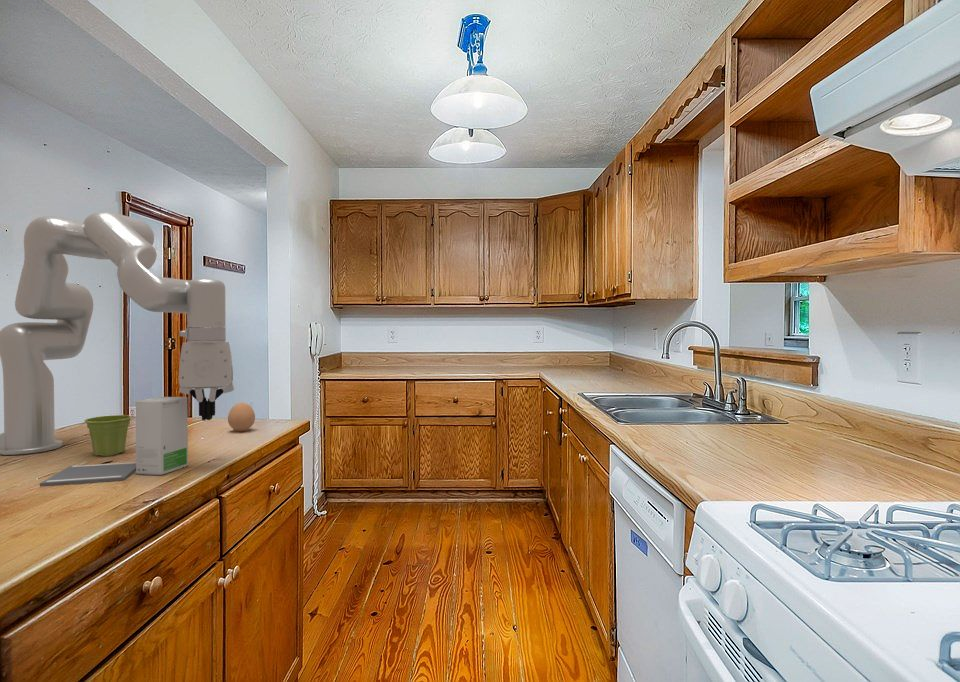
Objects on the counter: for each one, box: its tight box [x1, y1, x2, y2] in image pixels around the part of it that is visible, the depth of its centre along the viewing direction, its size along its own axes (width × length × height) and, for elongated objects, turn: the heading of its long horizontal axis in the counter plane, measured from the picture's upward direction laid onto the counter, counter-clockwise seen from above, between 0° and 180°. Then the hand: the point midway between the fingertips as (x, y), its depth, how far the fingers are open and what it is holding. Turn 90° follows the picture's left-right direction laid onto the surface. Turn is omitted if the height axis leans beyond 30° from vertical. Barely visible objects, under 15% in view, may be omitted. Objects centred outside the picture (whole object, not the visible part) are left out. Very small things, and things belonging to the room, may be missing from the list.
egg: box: [227, 402, 256, 432], centre depth 155 cm, size 7×7×8 cm
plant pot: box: [84, 414, 133, 457], centre depth 127 cm, size 9×9×9 cm
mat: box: [39, 461, 136, 487], centre depth 109 cm, size 14×13×1 cm
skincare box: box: [134, 396, 189, 476], centre depth 113 cm, size 8×7×16 cm
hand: (207, 419), depth 115 cm, fingers closed
